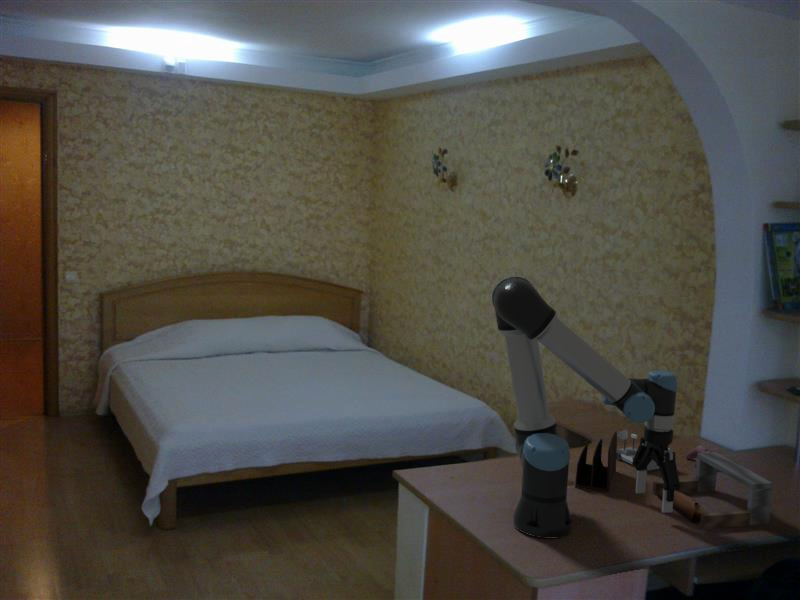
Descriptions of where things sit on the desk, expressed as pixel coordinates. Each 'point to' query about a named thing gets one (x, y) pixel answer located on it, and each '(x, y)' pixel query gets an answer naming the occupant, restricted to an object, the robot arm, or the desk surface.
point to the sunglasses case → (686, 506)
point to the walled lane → (707, 482)
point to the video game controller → (695, 451)
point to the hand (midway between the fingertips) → (653, 502)
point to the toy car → (632, 451)
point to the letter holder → (597, 468)
